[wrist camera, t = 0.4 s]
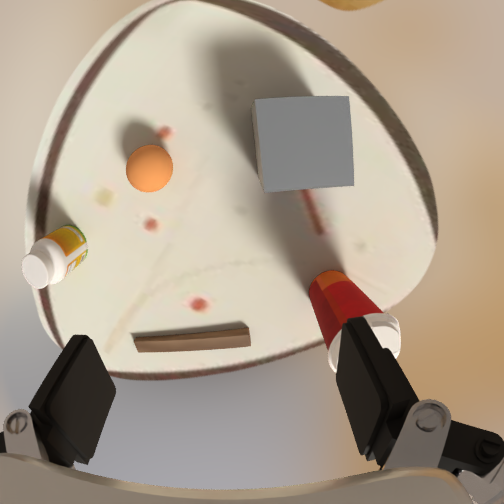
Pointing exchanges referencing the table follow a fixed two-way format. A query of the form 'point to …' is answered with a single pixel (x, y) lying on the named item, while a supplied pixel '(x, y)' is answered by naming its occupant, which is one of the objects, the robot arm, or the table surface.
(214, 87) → the table surface
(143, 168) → the ball
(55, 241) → the supplement bottle
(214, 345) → the long brown rectangular bar
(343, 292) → the paper cup
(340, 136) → the grey matte cube
